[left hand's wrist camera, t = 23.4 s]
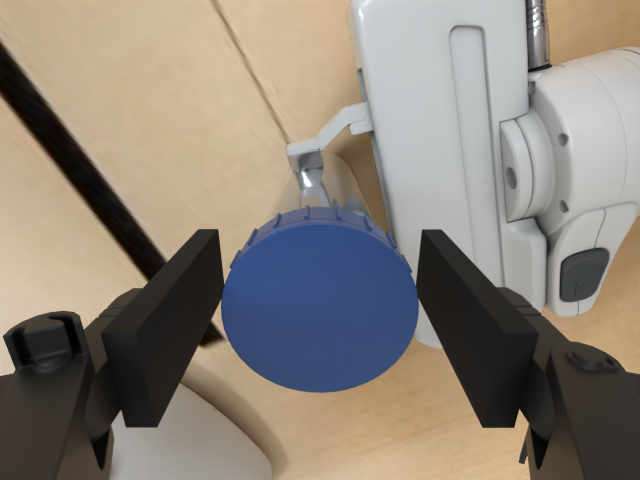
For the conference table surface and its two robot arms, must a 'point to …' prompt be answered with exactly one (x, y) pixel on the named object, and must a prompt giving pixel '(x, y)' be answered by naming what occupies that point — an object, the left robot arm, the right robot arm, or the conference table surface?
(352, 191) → the jar
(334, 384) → the lid
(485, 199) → the right robot arm
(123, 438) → the projector
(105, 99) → the conference table surface
